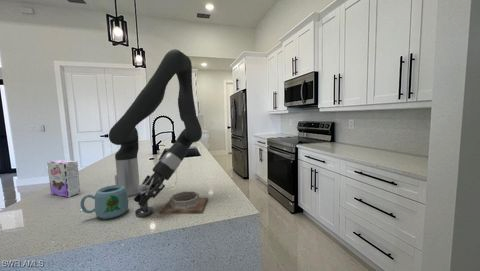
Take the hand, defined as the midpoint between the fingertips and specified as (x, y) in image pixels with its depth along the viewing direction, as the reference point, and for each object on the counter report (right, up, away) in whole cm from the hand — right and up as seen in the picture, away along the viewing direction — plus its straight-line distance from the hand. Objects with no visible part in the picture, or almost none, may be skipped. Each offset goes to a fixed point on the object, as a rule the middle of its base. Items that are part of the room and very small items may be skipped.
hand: (138, 203), depth 78 cm
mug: (-12, -5, +1) cm, 14 cm away
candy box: (-48, -4, +25) cm, 54 cm away
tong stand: (+16, -4, +7) cm, 18 cm away
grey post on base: (+2, -5, +2) cm, 5 cm away
